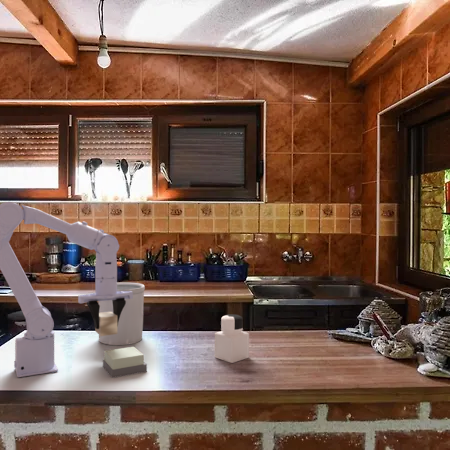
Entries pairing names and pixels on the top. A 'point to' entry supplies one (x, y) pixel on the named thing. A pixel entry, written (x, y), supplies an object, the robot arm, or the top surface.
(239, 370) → the top surface
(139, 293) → the utensil holder
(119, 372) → the tower base
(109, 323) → the birch block
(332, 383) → the top surface
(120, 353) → the tower top
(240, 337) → the medicine bottle
